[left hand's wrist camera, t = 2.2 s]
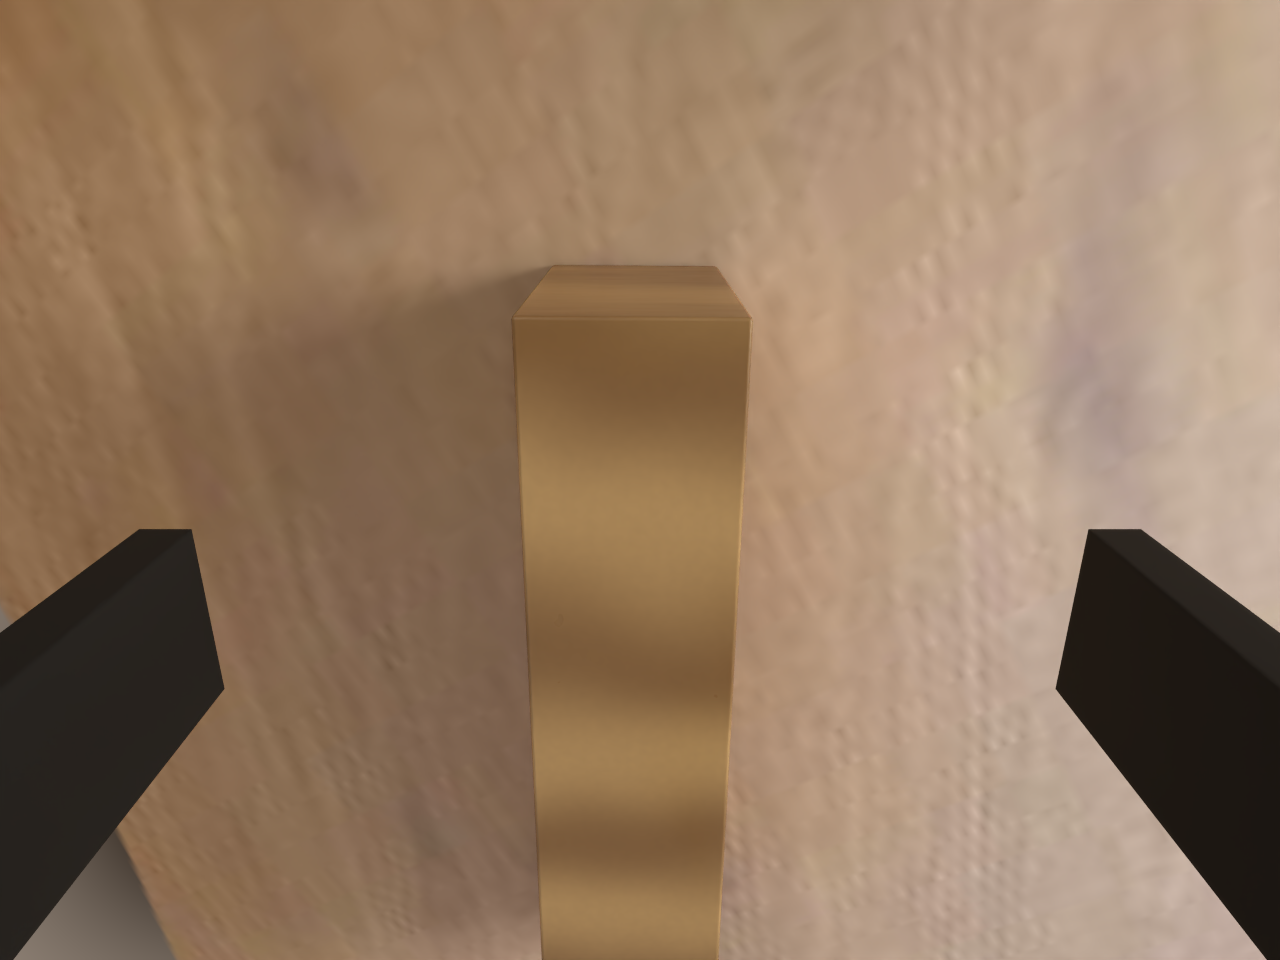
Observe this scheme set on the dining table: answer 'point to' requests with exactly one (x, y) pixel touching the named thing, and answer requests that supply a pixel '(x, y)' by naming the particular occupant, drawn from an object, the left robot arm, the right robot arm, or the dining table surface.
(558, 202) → the dining table surface
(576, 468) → the bar
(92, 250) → the dining table surface
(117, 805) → the left robot arm
